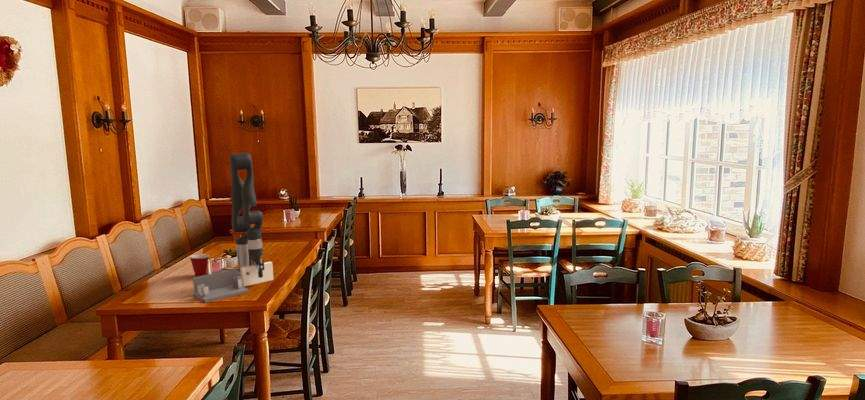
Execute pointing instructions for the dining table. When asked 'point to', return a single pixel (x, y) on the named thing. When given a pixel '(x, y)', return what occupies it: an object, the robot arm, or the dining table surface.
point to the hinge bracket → (218, 286)
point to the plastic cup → (199, 264)
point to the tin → (231, 269)
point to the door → (256, 274)
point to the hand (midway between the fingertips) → (257, 275)
